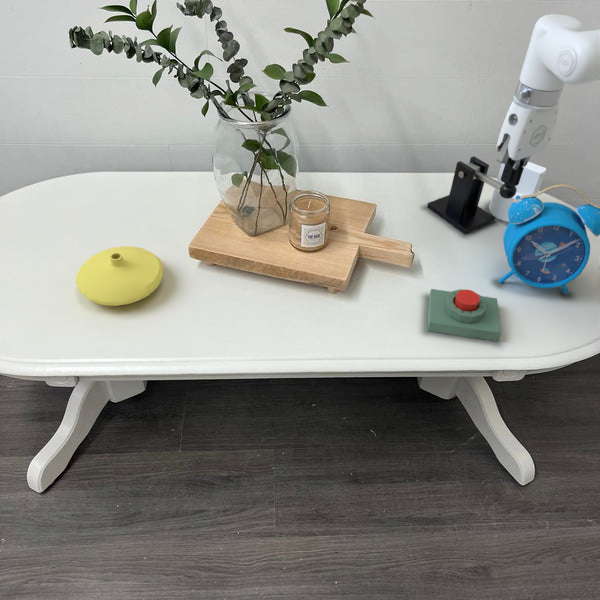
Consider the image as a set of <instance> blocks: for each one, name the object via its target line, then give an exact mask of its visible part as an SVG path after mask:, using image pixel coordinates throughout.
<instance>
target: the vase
mask: <svg viewBox="0 0 600 600" xmlns="http://www.w3.org/2000/svg"><path fill="white" fill-rule="evenodd" d="M163 264H164V263H162V261H161V259H160V257H158V256H157V255H156V254H155V253H153V252H151V251H149V250H147V249H146V248H143V247H142V248H141V247H138V246H130V245H123V246H115V247H111V248H107V249H103V250H101V251H99V252H97V253H95V254H93V255H92V256H90V257H89V258H87V260H86V261H85V262H84V263H83V264H82V265H81V266H80V268H79V269H78V272H77V273H76V276H75V277H76V279H75V284H76V287H77V289H78V290H79V292H80V293H81V294H82V295H83V296H84V297H85V298H86V299H87V300H88V301H91V302H93V303H95V304H98V305H102V306H112V307H113V306H117V307H118V306H123V305H129V304H133V303H135V302H138V301H140V300H142V299H144V298H146V297H148V296H150V295H151V294H152V293H154V291H156V289H157V288H158V287H159V286H160V284H161V281H162V278H163V275H164V265H163Z"/></svg>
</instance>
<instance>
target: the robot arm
mask: <svg viewBox="0 0 600 600" xmlns="http://www.w3.org/2000/svg"><path fill="white" fill-rule="evenodd" d="M597 81H600V28H599V29H594V30H584V27H583V24H582V22H581V20H579V19H577V18H575V17H573V16H571V15H566V14H561V13H560V14H559V13H551V14H545V15H543V16H541V17H540V18H538V19H537V21H536V22H535V25H534V26H533V30H532V33H531V37H530V41H529V44H528V47H527V51H526V54H525V57H524V61H523V64H522V67H521V72H520V75H519V78H518V81H517V85H516V89H515V92H514V95H513V100H512V101H511V104H510V106H509V108H508V110H507V113H506V116H505V117H504V120H503V123H502V125H501V129H500V131H499V135H498V139H497V143H496V151H497V152H499V153H498V155H497V157H496V162H498V163H500V164H501V165H502V164H505V167H504V170H503V173H502V176H501V181H502V182H504V183H505V184H507V185H508V186H510V187H514V186H516V185H518V184H519V181H520V178H521V175H522V172H523V169H524V168H523V167H525V166H526V165H527V163H528V162H530V161H529V160H530V158H531V157H532V156H534V155H536V154H539V153H541V152H544V151H546V150H547V149H548V147H549V145H550V143H551V139H552V136H553V133H554V130H555V127H556V122H557V119H558V114H559V108H560V99H561V95H562V92H563V90H564V87H565V84H567V85H571V86H578V85H584V84H588V83H592V82H597Z"/></svg>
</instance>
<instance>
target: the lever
mask: <svg viewBox="0 0 600 600" xmlns="http://www.w3.org/2000/svg"><path fill="white" fill-rule="evenodd" d="M465 164H466V165H468V166H469V167H471V168H473V169H474V170H475V174H474V178H473V179H476V178H478V179H479V180H481V181H483V182H484V184H487V185H489V186H490V187H493V188H496V189H498V190H500V195H501V196H502V197H503V198H505V199H510V198H512V197H514V196H515V194H516V191H517V189H516V186H514V187H510V186H508V185H507V184H505V183H504V184H502V183H500V182H498V181H497V179H495V178H493V177H491V176H489V175H488V174H487V175H485V174H483V173H481V172H480V169H481V167H479V166H477V165H475V164H473V163H472V162H470V161H469V162H467V163H465Z"/></svg>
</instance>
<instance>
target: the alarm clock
mask: <svg viewBox="0 0 600 600" xmlns="http://www.w3.org/2000/svg"><path fill="white" fill-rule="evenodd" d="M557 188H558V189H559V188H566V189H570V190H572V191H573V192H576V193H577V194H578V195H579V196H580V197H581V198H582V199H583V200H584V201H585V204H580V205H578V206H576V207H575V208H574V209H572V208H571V207H569V206H567V205H565V204H562V203H559V202H558V203H557V202H551V201H546V202H543V201H542V200H541V199H540V198H538V197H537V196H539V195H542V194H544V193H545V192H547V191H550V190H553V189H557ZM534 196H536V197H534ZM513 201H514V202H513V203H512V204H511V206H510V207H509V211H508V218H509V221H510V222H507V223H508V224H507V225H506V227H505V229H504V232H503V233H504V234H503V237H502V239H503V249H504V253H505V256H506V259H507V263H508V267H509V268H510V270H509V271H508V272H507V273H506V274H505V275H503V276H502V277H501V278H500V279H499V280H498V283H499V284H501V283H503V282H505V281H507V280H508V279H509V278H511V277H512V276H513V275H515V276H516V277H517V279H518V280H520V281H521V282H523V283H524V284H526V285H529V286H531V287H534V288H538V289H554V288H558V287H561V290H562V292H563V294H564V295H567V294H568V287H567V284H568V283H570V282H572V281H574V280H576V278H577V277H578V276H580V275H581V274H582V273H583V271H584V270H585V268H586V266H587V264H588V262H589V260H590V259H589V258H590V255H591V243H590V239H589V237H588V233H587V229H588V230H589V231H590V232H591V233H592V235H594V237H596V238H598V237H599V236H600V205H597V204H595V203H593V202H592V201H590V200H589V199H588V198H587V197H586V196H585V195H584V194H583V193H582V192H581V190H579V189H578V188H576V187H574V186H572V185H570V184H566V183H565V184H563V183H561V184H554V185H551V186H548V187H546V188H543V189H542V190H539V191H538V192H537V193H535V194H530V195H523V196H521V197H520V196H518V195H517V196H516V199H515V200H513ZM586 203H587V204H586ZM586 228H587V229H586Z"/></svg>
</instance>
